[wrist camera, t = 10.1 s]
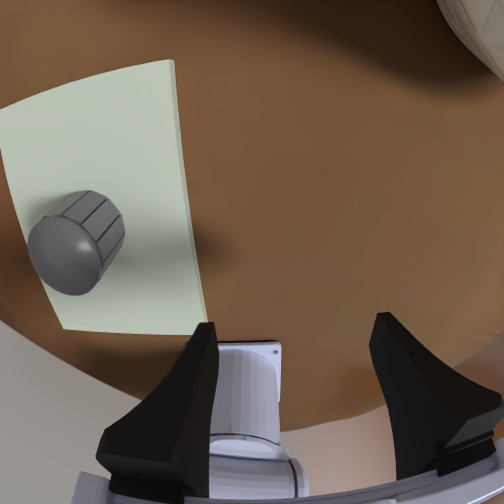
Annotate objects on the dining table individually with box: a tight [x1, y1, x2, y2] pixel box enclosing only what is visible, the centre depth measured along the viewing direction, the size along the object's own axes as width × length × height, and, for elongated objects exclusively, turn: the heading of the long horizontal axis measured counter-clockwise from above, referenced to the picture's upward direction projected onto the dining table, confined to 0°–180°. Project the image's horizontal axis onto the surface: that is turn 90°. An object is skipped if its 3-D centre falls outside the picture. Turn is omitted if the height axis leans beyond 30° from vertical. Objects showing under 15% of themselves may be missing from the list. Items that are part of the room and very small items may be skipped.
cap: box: [27, 190, 125, 296], centre depth 18 cm, size 5×5×4 cm
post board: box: [0, 59, 208, 335], centre depth 19 cm, size 20×14×5 cm
